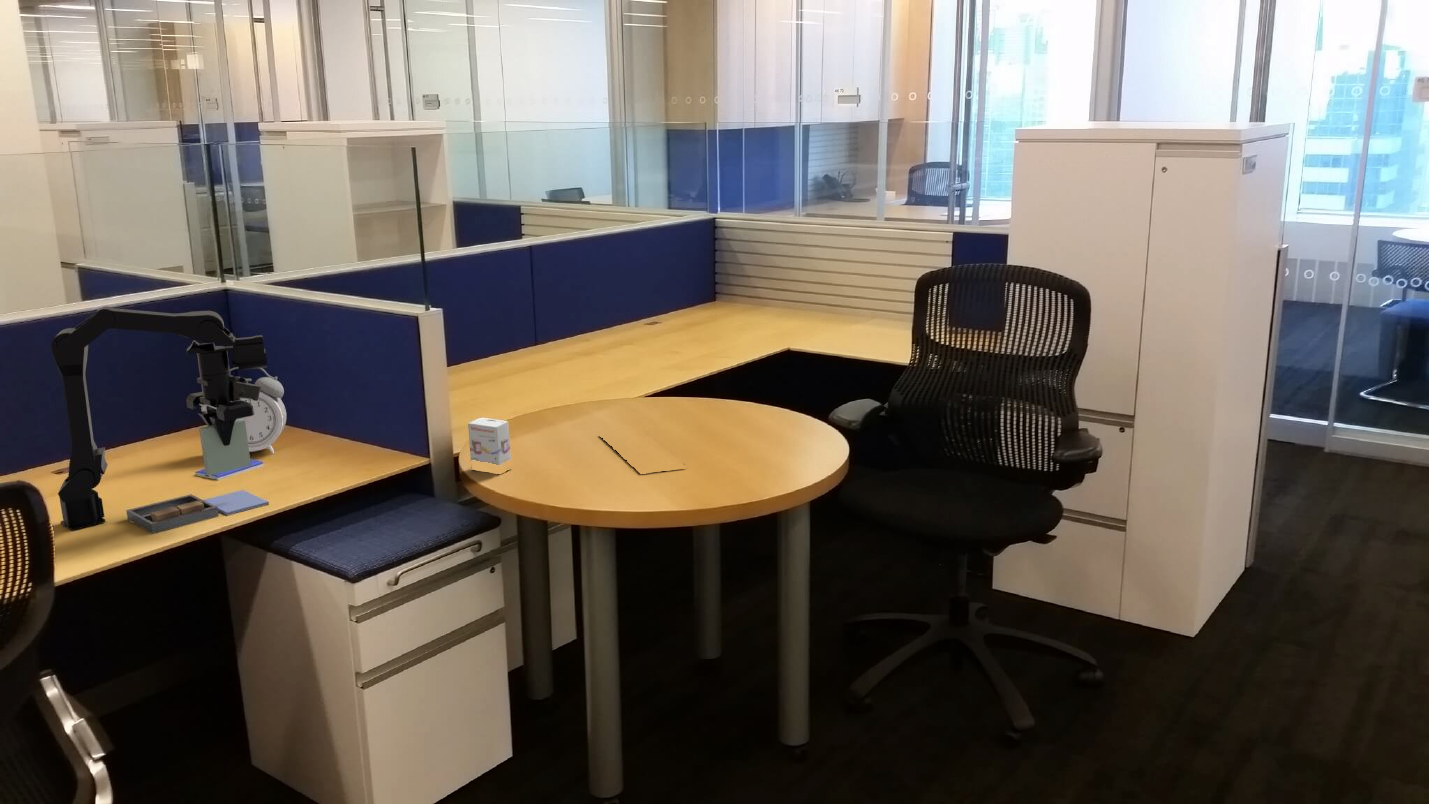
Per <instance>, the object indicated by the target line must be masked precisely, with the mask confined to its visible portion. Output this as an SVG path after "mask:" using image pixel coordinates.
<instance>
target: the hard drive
mask: <svg viewBox="0 0 1429 804" xmlns="http://www.w3.org/2000/svg"><path fill="white" fill-rule="evenodd" d="M250 462H251V466H246V467H242V468H238V469H234V470H230V471H226V472H222V473H218V474H214V475H210V476H209V475H206V473H205V468H203V469H200V470H197V471H195V472H194V475H195V476H198V477H203V478H206V479H210V480H211V479H212V480H216V481H220V480H223V479H227V478H229V477H233V476H236V475H239V474H242V473H246V472H248V471H251V470H255V469H258V468H261V467H264V466H265V465H264V462H263V461H262V460H257V459H252V458H250Z"/></svg>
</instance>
